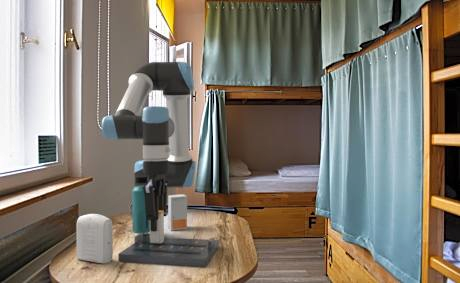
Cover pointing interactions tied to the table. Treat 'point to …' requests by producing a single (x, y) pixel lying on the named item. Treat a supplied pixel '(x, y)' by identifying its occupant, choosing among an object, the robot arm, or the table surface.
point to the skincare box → (177, 212)
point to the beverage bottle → (139, 208)
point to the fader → (161, 226)
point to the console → (171, 251)
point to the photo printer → (94, 238)
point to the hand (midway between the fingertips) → (156, 240)
